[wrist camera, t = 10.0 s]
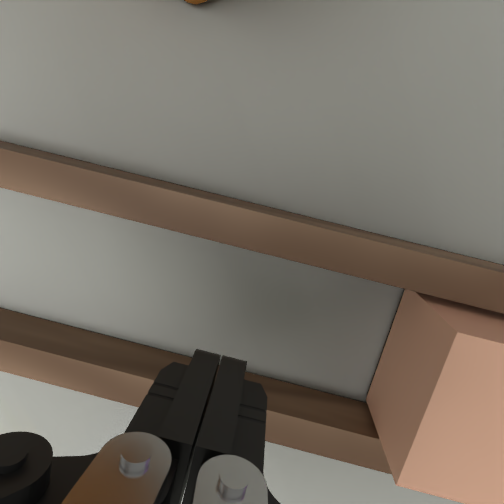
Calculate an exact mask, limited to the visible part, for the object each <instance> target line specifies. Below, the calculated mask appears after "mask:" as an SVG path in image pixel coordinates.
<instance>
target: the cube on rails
mask: <svg viewBox="0 0 504 504" xmlns="http://www.w3.org/2000/svg"><path fill="white" fill-rule="evenodd" d="M0 187H1V188H5V189H9V190H13V191H17V192H21V193H25V194H29V195H33V196H37V197H41V198H45V199H49V200H53V201H57V202H61V203H65V204H69V205H73V206H77V207H81V208H85V209H89V210H93V211H97V212H101V213H105V214H109V215H113V216H117V217H121V218H125V219H128V220H132V221H136V222H140V223H144V224H148V225H152V226H156V227H160V228H164V229H168V230H172V231H176V232H180V233H184V234H188V235H192V236H196V237H200V238H204V239H208V240H212V241H216V242H220V243H224V244H228V245H232V246H236V247H240V248H244V249H248V250H252V251H256V252H260V253H264V254H268V255H272V256H276V257H280V258H284V259H288V260H292V261H296V262H300V263H304V264H308V265H312V266H316V267H320V268H324V269H328V270H332V271H336V272H340V273H344V274H348V275H352V276H356V277H360V278H364V279H368V280H372V281H375V282H379V283H383V284H387V285H391V286H395V287H399V288H403V289H407V290H411V291H415V292H419V293H423V294H427V295H431V296H435V297H439V298H443V299H447V300H451V301H455V302H459V303H463V304H467V305H471V306H475V307H479V308H483V309H487V310H491V311H495V312H499V313H503V314H504V265H501V264H497V263H493V262H489V261H485V260H481V259H477V258H473V257H469V256H464V255H460V254H456V253H452V252H448V251H444V250H440V249H436V248H432V247H428V246H424V245H420V244H416V243H412V242H408V241H404V240H400V239H396V238H392V237H388V236H384V235H380V234H376V233H372V232H368V231H364V230H359V229H355V228H351V227H347V226H343V225H339V224H335V223H331V222H327V221H323V220H319V219H315V218H311V217H307V216H303V215H299V214H295V213H291V212H287V211H283V210H279V209H275V208H271V207H267V206H263V205H258V204H254V203H250V202H246V201H242V200H238V199H234V198H230V197H226V196H222V195H218V194H214V193H210V192H206V191H202V190H198V189H194V188H190V187H186V186H182V185H178V184H174V183H170V182H166V181H162V180H157V179H153V178H149V177H145V176H141V175H137V174H133V173H129V172H125V171H121V170H117V169H113V168H109V167H105V166H101V165H97V164H93V163H89V162H85V161H81V160H77V159H73V158H69V157H65V156H61V155H56V154H52V153H48V152H44V151H40V150H36V149H32V148H28V147H24V146H20V145H16V144H12V143H8V142H4V141H0ZM191 360H192V358H191V357H187V356H183V355H179V354H176V353H172V352H168V351H164V350H160V349H156V348H153V347H149V346H145V345H141V344H137V343H133V342H129V341H126V340H122V339H118V338H114V337H110V336H106V335H103V334H99V333H95V332H91V331H87V330H83V329H80V328H76V327H72V326H68V325H64V324H60V323H56V322H53V321H49V320H45V319H41V318H37V317H33V316H30V315H26V314H22V313H18V312H14V311H10V310H6V309H3V308H0V371H3V372H7V373H11V374H15V375H18V376H22V377H26V378H30V379H34V380H37V381H41V382H45V383H49V384H52V385H56V386H60V387H64V388H68V389H71V390H75V391H79V392H83V393H86V394H90V395H94V396H98V397H102V398H105V399H109V400H113V401H117V402H120V403H124V404H128V405H132V406H136V407H140V405H141V403H142V401H143V400H144V398H145V396H146V394H148V391H149V389H150V387H151V386H152V384H153V383H154V380H155V379H156V377H157V375H158V374H159V372H160V370H161V369H163V368H164V367H166V366H167V365H169V364H171V363H172V362H177V363H181V364H185V365H189V364H190V362H191ZM219 366H220V365H219ZM219 366H218V370H219ZM218 370H217V373H218ZM216 376H217V374H216ZM244 379H245V380H249V381H253V382H257V383H260V384H261V385H262V387H263V389H264V391H265V393H266V395H267V397H268V398H267V411H266V413H267V415H266V431H265V441H268V442H272V443H275V444H279V445H283V446H287V447H290V448H294V449H298V450H302V451H306V452H309V453H313V454H317V455H321V456H324V457H328V458H332V459H336V460H340V461H343V462H347V463H351V464H355V465H358V466H362V467H366V468H370V469H374V470H377V471H381V472H385V473H389V474H392V472H391V470H390V467H389V464H388V461H387V458H386V455H385V453H384V450H383V447H382V444H381V441H380V438H379V435H378V433H377V430H376V427H375V424H374V421H373V418H372V415H371V413H370V410H369V407H368V404H367V403H364V402H360V401H356V400H353V399H349V398H345V397H341V396H337V395H333V394H329V393H326V392H322V391H318V390H314V389H310V388H306V387H303V386H299V385H295V384H291V383H287V382H283V381H279V380H276V379H272V378H268V377H264V376H260V375H256V374H253V373H249V372H245V376H244ZM215 380H216V378H215ZM214 383H215V382H214Z"/></svg>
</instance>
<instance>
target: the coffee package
mask: <svg viewBox="0 0 504 504" xmlns="http://www.w3.org/2000/svg"><path fill="white" fill-rule="evenodd" d="M184 1H186V2H187V3H192V4H199V3H203V2H205V1H207V0H184Z"/></svg>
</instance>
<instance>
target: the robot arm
mask: <svg viewBox="0 0 504 504" xmlns="http://www.w3.org/2000/svg"><path fill="white" fill-rule="evenodd" d="M220 357H221V355H219V354H215V353H211V352H207V351H203V350H199V349H196V351H195V353H194V355H193V357H192V360H191V362H190V364H189V365H185V364H181V363H177V362H172V363H171V364H169V365H167V366H166V367H164V368H163V369H161V370H160V372H159V374H158V375H157V377H156V379H155V380H154V383H153V384H152V386H151V387H150V389H149V391H148V394H146V396H145V398H144V400H143V401H142V403H141V405H140V407H139V408H138V410H137V412H136V414H135V415H134V417H133V419H132V420H131V422H130V424H129V426H128V427H127V429H126V431H125V433H124V434H121V435H118V436H116V437H114V438H112V439H111V440H110V441H108V442H107V443H106V444H105V445H104V446H103V447H102V449H101V450H100V452H98V453H95V454H91V455H86V456H65V457H52V456H53V451H52V447H51V445H50V443H49V442H48V441H47V440H46V439H45V438H44V437H42V436H40V435H38V434H35V433H30V432H11V433H5V434H1V435H0V504H181V501H182V497H183V494H184V498H183V502H182V504H280V503H279V502H278V501H277V500H276V499H275V498H274V497H273V495H272V494H271V492H270V491H269V489H268V487H267V484H266V481H265V478H264V475H263V465H264V448H265V431H266V415H267V413H266V411H267V398H268V397H267V395H266V393H265V391H264V389H263V387H262V385H261V384H260V383H257V382H253V381H249V380H245V379H244V376H245V371H246V365H247V361H243V360H239V359H235V358H231V357H227V356H222V360H221V363H220V366H219V361H220ZM218 366H219V370H218ZM217 370H218V373H217ZM216 374H217V376H216ZM215 378H216V380H215ZM214 382H215V383H214ZM187 480H188V481H187ZM186 484H187V485H186ZM185 487H186V489H185ZM184 490H185V493H184Z"/></svg>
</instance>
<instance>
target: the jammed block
mask: <svg viewBox="0 0 504 504" xmlns="http://www.w3.org/2000/svg"><path fill="white" fill-rule="evenodd" d="M366 401H367V404H368V407H369V410H370V413H371V415H372V418H373V421H374V424H375V427H376V430H377V433H378V435H379V438H380V441H381V444H382V447H383V450H384V453H385V455H386V458H387V461H388V464H389V467H390V470H391V472H392V475H393V478H394V481H395V484H396V485H397V486H401V487H404V488H408V489H412V490H416V491H419V492H423V493H427V494H431V495H434V496H438V497H442V498H446V499H450V500H453V501H457V502H461V503H465V504H504V314H503V313H499V312H495V311H491V310H487V309H483V308H479V307H475V306H471V305H467V304H463V303H459V302H455V301H451V300H447V299H443V298H439V297H435V296H431V295H427V294H423V293H419V292H415V291H411V290H407V289H405V290H404V293H403V296H402V299H401V302H400V305H399V307H398V310H397V313H396V316H395V319H394V321H393V324H392V327H391V330H390V333H389V336H388V338H387V341H386V344H385V347H384V350H383V353H382V355H381V358H380V361H379V364H378V367H377V370H376V372H375V375H374V378H373V381H372V384H371V386H370V389H369V392H368V395H367V398H366Z"/></svg>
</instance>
